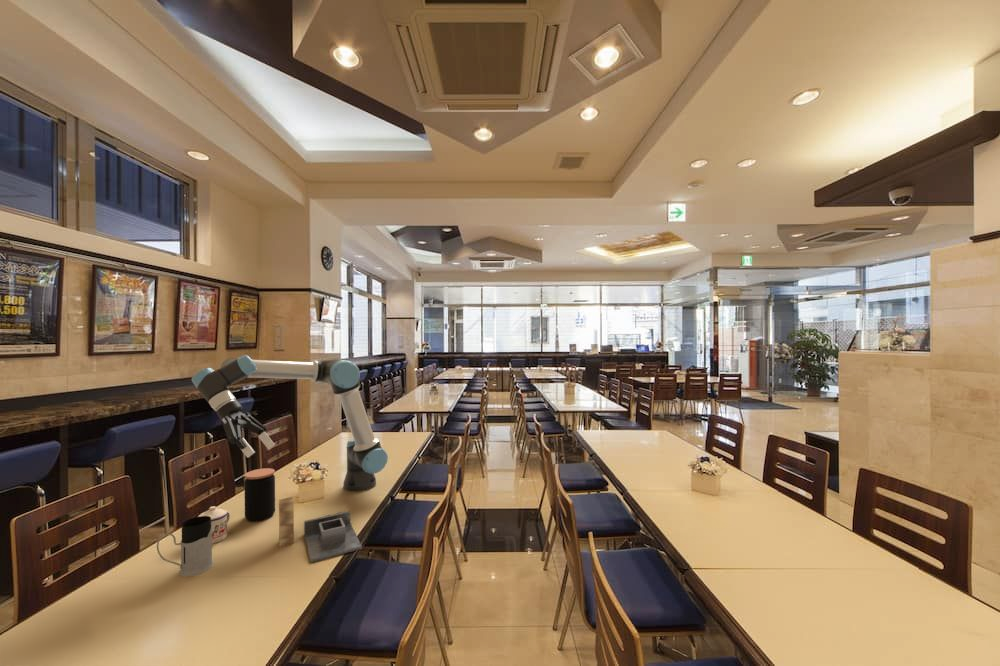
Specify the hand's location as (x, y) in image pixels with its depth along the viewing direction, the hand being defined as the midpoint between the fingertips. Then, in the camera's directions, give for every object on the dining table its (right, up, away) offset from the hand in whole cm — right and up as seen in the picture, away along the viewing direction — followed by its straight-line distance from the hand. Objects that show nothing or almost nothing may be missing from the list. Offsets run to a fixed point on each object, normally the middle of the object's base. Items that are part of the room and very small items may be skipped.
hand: (262, 451), depth 147 cm
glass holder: (-12, -32, -21) cm, 40 cm away
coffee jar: (-11, -32, +18) cm, 39 cm away
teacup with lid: (-18, -32, +1) cm, 37 cm away
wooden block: (+10, -32, -3) cm, 33 cm away
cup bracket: (+26, -32, -2) cm, 41 cm away
